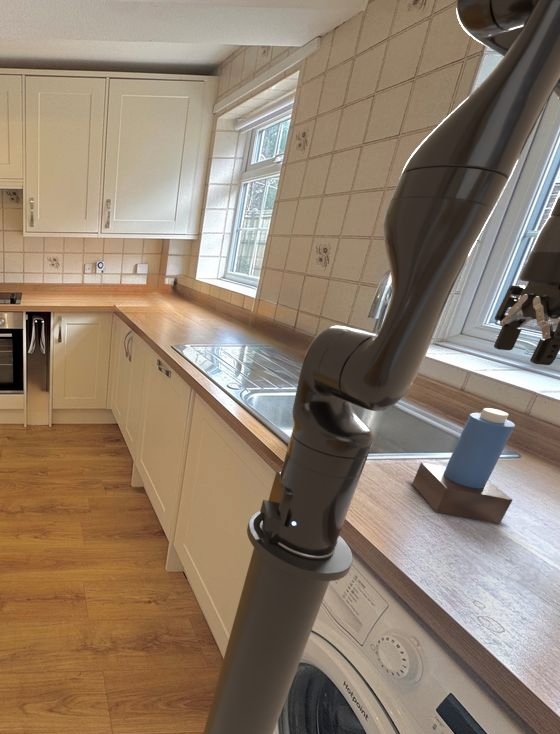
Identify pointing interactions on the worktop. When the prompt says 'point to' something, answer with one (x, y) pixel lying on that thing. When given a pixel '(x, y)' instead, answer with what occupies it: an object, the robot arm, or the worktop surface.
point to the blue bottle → (479, 448)
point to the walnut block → (460, 495)
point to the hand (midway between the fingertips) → (520, 356)
